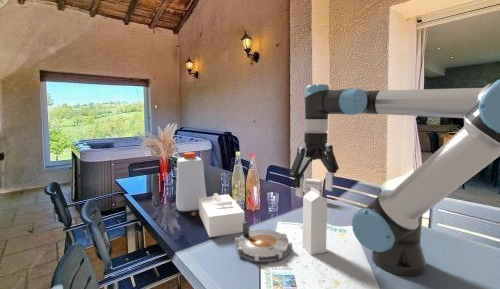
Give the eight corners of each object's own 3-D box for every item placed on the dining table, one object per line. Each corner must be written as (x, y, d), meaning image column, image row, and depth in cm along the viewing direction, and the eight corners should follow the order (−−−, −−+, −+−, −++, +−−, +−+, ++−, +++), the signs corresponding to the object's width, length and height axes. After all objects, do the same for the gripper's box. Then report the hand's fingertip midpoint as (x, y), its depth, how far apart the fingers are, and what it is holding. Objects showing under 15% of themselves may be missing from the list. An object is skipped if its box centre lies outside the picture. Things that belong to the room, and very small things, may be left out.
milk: (310, 255, 93) (311, 192, 90) (302, 246, 99) (302, 187, 96) (326, 252, 95) (327, 190, 92) (317, 244, 100) (318, 185, 98)
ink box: (322, 201, 148) (323, 179, 146) (319, 203, 144) (320, 181, 142) (307, 198, 152) (307, 177, 151) (304, 201, 148) (304, 179, 147)
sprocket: (300, 242, 100) (300, 224, 99) (271, 267, 84) (271, 246, 83) (256, 229, 111) (256, 213, 110) (224, 248, 96) (223, 230, 95)
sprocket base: (301, 253, 94) (301, 250, 94) (253, 269, 85) (253, 267, 85) (270, 232, 111) (270, 230, 111) (227, 244, 101) (227, 242, 101)
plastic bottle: (203, 200, 152) (202, 150, 148) (208, 209, 137) (206, 154, 134) (175, 203, 147) (173, 151, 143) (177, 213, 133) (174, 156, 129)
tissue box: (209, 238, 107) (208, 211, 106) (199, 215, 130) (198, 193, 129) (244, 232, 112) (244, 206, 110) (228, 211, 135) (228, 189, 134)
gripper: (334, 129, 101) (332, 185, 104) (279, 132, 89) (278, 196, 91) (350, 130, 95) (348, 190, 97) (293, 134, 82) (292, 202, 85)
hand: (314, 193), depth 94 cm, fingers open, 13 cm apart
